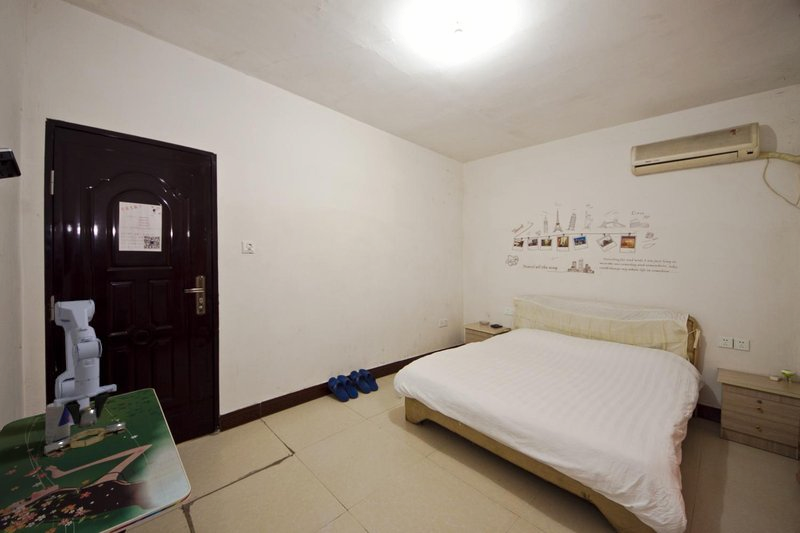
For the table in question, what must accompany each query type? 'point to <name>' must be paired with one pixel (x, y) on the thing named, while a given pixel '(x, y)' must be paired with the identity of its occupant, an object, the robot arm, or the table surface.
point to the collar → (87, 442)
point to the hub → (87, 417)
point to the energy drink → (57, 423)
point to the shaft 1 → (57, 447)
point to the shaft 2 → (115, 428)
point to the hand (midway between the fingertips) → (87, 420)
